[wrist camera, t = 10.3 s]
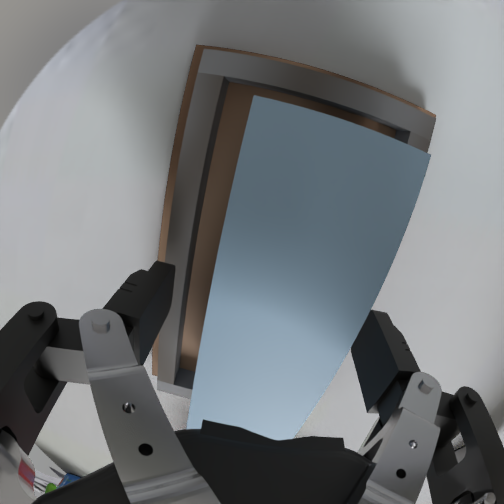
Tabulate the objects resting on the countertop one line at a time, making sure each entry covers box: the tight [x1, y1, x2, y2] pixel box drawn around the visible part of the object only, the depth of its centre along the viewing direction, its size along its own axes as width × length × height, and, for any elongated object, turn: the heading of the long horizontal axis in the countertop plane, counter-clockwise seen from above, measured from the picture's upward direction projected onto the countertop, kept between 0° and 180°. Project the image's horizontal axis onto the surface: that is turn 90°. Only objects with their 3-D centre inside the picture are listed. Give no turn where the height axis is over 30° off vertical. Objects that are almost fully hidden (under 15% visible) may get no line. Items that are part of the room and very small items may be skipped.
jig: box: [152, 45, 436, 399], centre depth 14 cm, size 11×19×2 cm, turn 167°
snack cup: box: [45, 473, 80, 493], centre depth 32 cm, size 16×10×10 cm
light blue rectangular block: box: [186, 95, 431, 440], centre depth 11 cm, size 4×14×6 cm, turn 167°
